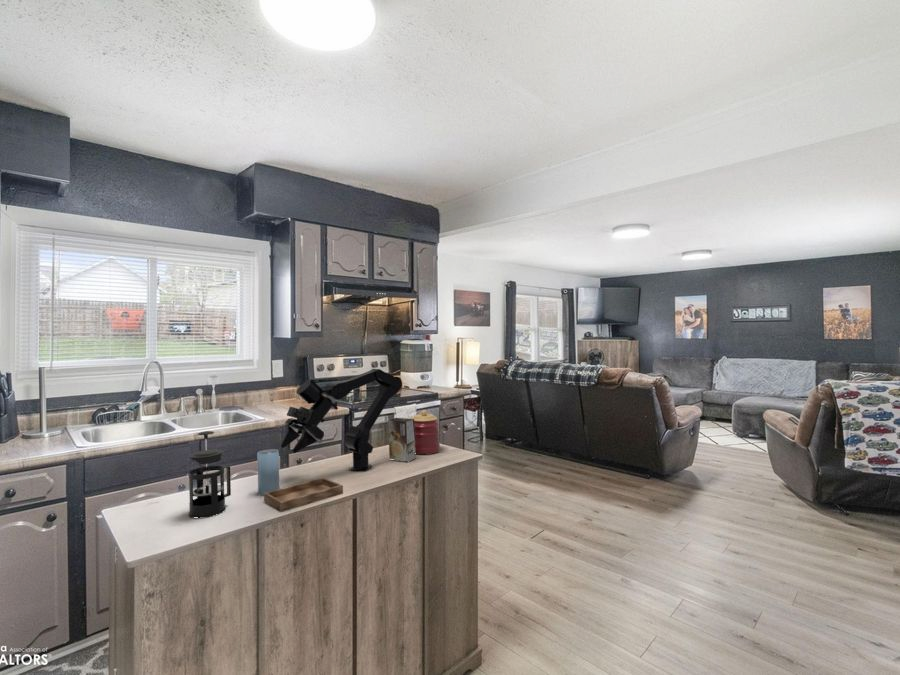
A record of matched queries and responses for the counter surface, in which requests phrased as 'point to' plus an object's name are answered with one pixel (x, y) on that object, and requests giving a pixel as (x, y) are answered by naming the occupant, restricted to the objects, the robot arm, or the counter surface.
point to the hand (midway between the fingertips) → (287, 449)
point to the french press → (207, 495)
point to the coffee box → (401, 439)
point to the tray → (302, 494)
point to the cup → (268, 471)
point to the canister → (426, 433)
